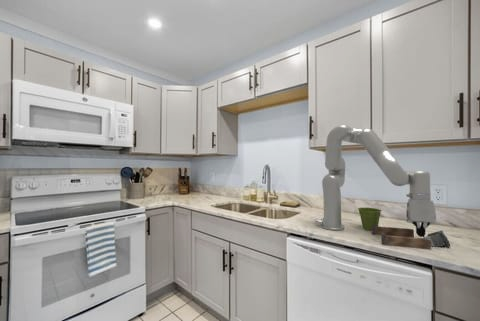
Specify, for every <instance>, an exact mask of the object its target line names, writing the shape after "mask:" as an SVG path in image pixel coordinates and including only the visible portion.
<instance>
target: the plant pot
mask: <svg viewBox="0 0 480 321" xmlns="http://www.w3.org/2000/svg"><path fill="white" fill-rule="evenodd" d="M357 210H358V213H359V216H360V221H361V225H362V229H364V230H366V231H370V232H372V224H374V225H375V226H379V222H380V217H381V214H382V212H383V210H382V209H380V208H376V207H375V208H374V207H365V206H364V207H358V208H357Z"/></svg>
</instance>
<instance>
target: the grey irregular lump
mask: <svg viewBox="0 0 480 321" xmlns="http://www.w3.org/2000/svg"><path fill="white" fill-rule="evenodd" d="M423 238H424V239H430V240H431V247H433V248H437V247H446V248H448V249H449V248H451V244H450V241H449V239H448V237H447V235H445V233H444V231H443V230H437V231H435V232H430V233H427V235H426V236H425V237H423Z"/></svg>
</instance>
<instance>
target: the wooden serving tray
mask: <svg viewBox="0 0 480 321" xmlns="http://www.w3.org/2000/svg"><path fill="white" fill-rule="evenodd" d="M414 232H415V231H414V229H413V228H406V227H404V228H403V227H395V226H394V227H393V226H392V227H391V226H379V225H378V226H375V225H374V224H372V231H371V234H372V235H377V236H381V245H383V246H391V247H392V246H393V247H400V248H410V249H411V248H413V249H422V250H424V249H425V250H432V246H431V240H430V239H424V237H415V233H414Z"/></svg>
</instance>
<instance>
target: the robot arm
mask: <svg viewBox="0 0 480 321" xmlns="http://www.w3.org/2000/svg"><path fill="white" fill-rule="evenodd" d="M343 142H347V143H350V144H351V143H352V144H355V145H356V144H358V145H361V146H362V147H363V148H364V149H365V150H366V151H367V153H368V155H369V156H370V157H371V158H372V160H373V162H375V163H376V165H377V166H378V167H379V169H380V170H381V172H382V173H383V174H384V176H386V178H387V179H388V180H389V182H390V183H391V184H392V185H394V186H395V187H396V186H397V187H403V186H408V185H409V192H408V193H407V194H405V195H406V198H408V199H407V203H406V210H405V211H406V212H405V214H406V222H407V223H408V224H412V225H413V226H415V232H416V233H415V234H416V235H417V236H418V237H419V238H424V237H426V236H425V235H426V229H427V228H428V227H429V226H432V225H435V224H436V222H437V213H436V207H435V203H434V201H433V200H432V199H431V197H432V195H431V173H430V172H429V171H426V170H412V171H410V170H404V168H403V167H402V166H401V165H400V164H399V162H398V161H397V160H396V158H395V157H394V155H393V154H392V152H391V150H390V149H389V147H387V145H386V144H385V142H383V140H382V139H381V138H380V137H379V135H378V134H377V133H376V131H374V130H373V129H371V128H364V129H363V128H362V129H359V128H354V127H351V126H349V125H346V124H340V125H337V126H335V127H333V128H332V129H331V130H330V131H329V133H328V134H327V138H326V144H325V146H326V147H325V156H324V157H325V158H324V160H325V162H324V167H325V168H326V169H327V170H328V173H327V174H326V175H324V176H323V177H322V178H323V179H322V180H321V186H322V193H323V195H322V196H323V197H322V198H323V199H322V201H323V217H322V218H321V219H319V218H316V219H315V223H317V224H320V227H321V228H323V229H324V230H325V229H326V230H329V231H343V230H344V229H345V225H343V224H342V194H341V187H343V186H344V184H345V182H346V181H345V179H346V178H345V177H346V176H345V175H346V161H345V159H344V158H343V157H342V152H343V146H342V144H343Z"/></svg>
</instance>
